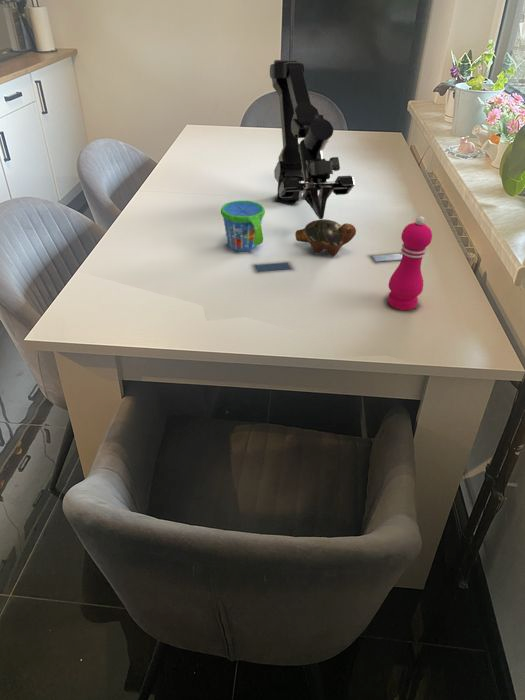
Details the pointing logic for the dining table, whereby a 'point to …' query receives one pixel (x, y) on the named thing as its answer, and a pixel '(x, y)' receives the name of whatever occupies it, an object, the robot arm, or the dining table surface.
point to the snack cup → (243, 224)
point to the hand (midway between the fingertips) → (321, 218)
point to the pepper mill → (410, 266)
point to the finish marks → (285, 266)
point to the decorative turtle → (326, 235)
